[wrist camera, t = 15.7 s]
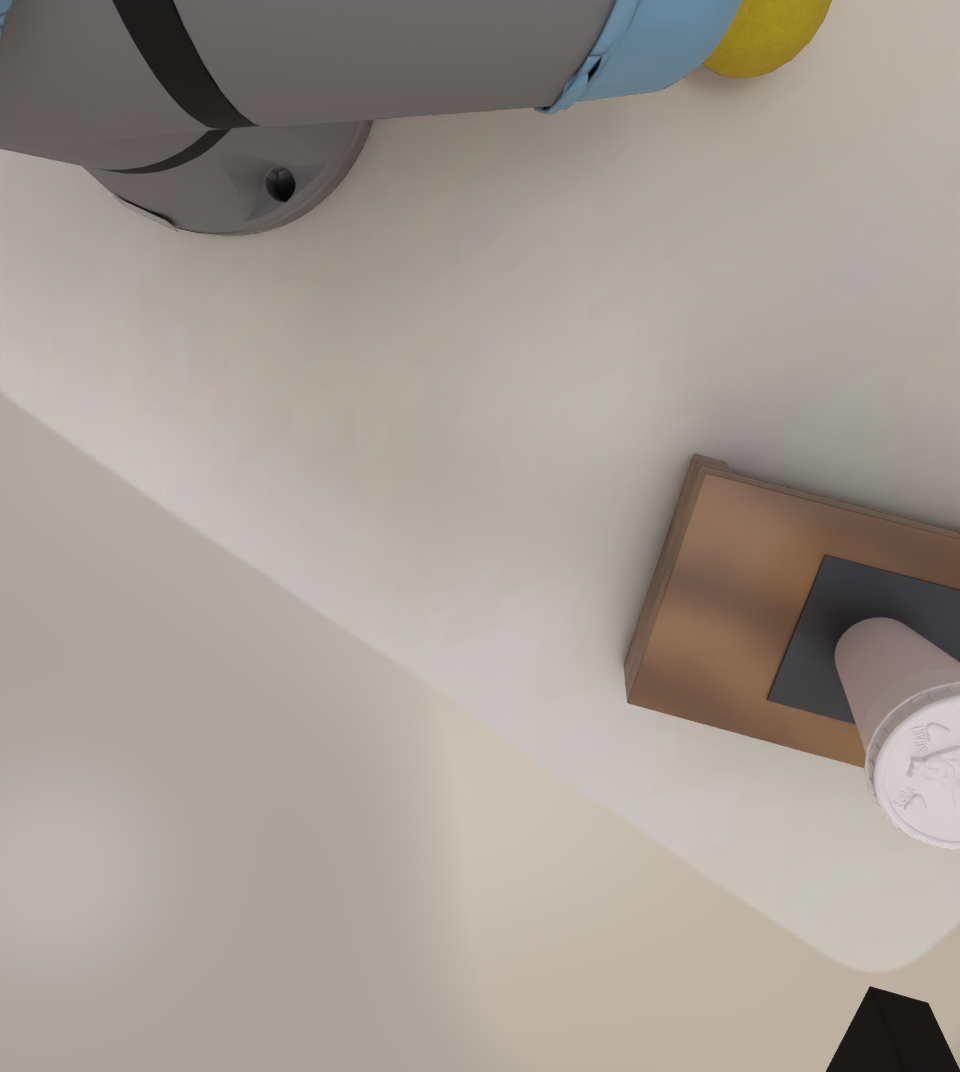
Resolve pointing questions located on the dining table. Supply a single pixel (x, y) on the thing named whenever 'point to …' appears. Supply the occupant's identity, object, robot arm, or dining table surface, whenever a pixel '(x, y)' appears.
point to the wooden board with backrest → (780, 607)
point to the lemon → (766, 36)
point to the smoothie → (906, 725)
